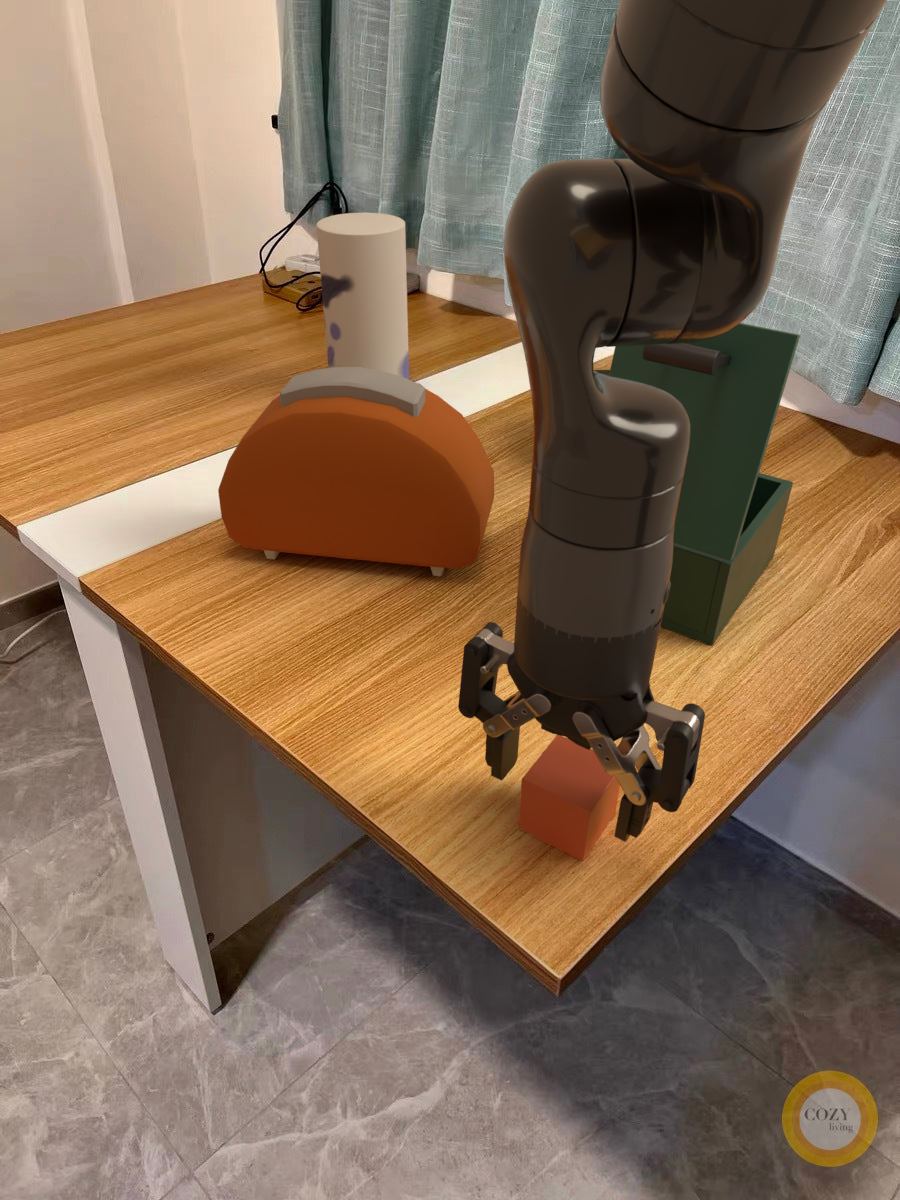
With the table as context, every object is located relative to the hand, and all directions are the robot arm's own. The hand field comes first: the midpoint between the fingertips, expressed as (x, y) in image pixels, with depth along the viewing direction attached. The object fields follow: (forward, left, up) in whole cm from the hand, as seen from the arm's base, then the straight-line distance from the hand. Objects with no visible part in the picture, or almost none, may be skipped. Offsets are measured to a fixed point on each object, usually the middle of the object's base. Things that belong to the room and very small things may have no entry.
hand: (563, 799), depth 55 cm
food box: (+5, -31, -2) cm, 31 cm away
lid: (+5, -25, +14) cm, 29 cm away
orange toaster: (+31, -19, -3) cm, 36 cm away
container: (+53, -48, -3) cm, 71 cm away
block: (0, -1, -2) cm, 2 cm away
